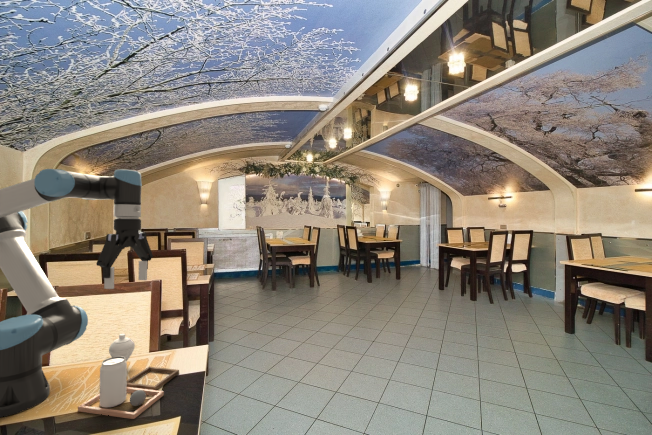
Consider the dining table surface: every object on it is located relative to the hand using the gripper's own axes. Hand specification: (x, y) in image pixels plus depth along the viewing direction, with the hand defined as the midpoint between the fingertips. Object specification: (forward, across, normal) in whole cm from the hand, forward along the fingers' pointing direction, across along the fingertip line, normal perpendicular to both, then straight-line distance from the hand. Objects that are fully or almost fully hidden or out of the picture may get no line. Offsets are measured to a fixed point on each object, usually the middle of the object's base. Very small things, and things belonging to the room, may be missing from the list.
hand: (127, 284), depth 103 cm
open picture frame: (+32, -10, -8) cm, 34 cm away
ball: (+32, -10, -13) cm, 36 cm away
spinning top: (+32, +8, +9) cm, 34 cm away
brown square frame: (+32, +3, -7) cm, 33 cm away
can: (+32, -10, -5) cm, 34 cm away
